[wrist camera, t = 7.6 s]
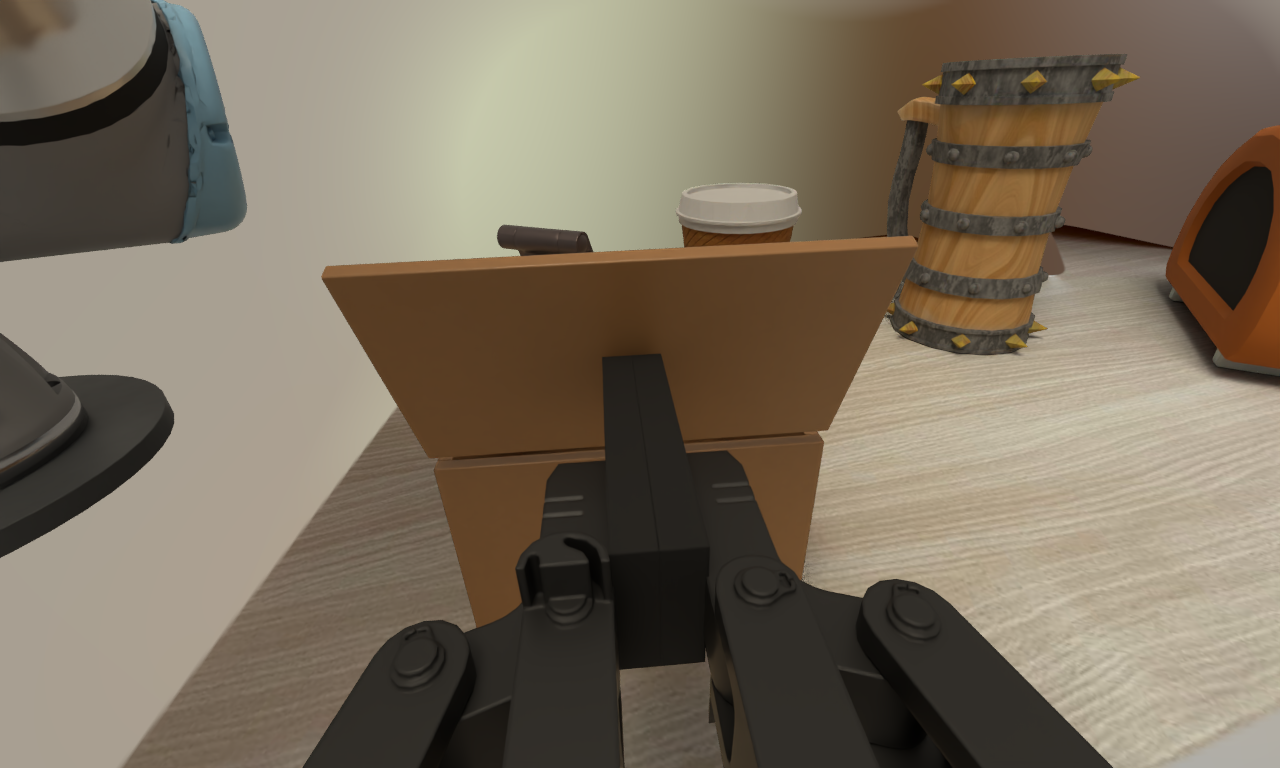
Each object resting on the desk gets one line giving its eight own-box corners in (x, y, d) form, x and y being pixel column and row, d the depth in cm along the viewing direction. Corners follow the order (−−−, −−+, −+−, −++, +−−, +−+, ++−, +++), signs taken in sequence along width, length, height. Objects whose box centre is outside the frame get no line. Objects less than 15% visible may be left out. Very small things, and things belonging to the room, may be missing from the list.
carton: (721, 417, 35) (727, 280, 31) (796, 610, 22) (828, 421, 18) (522, 430, 35) (499, 292, 30) (479, 638, 21) (427, 449, 17)
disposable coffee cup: (716, 372, 41) (723, 209, 35) (656, 329, 48) (653, 190, 42) (811, 344, 44) (832, 193, 39) (742, 309, 52) (750, 178, 46)
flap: (912, 234, 12) (919, 245, 12) (824, 420, 18) (828, 430, 18) (324, 265, 11) (319, 277, 11) (430, 448, 17) (428, 459, 17)
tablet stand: (619, 302, 55) (615, 218, 51) (578, 330, 49) (570, 238, 45) (548, 291, 58) (538, 212, 54) (501, 317, 52) (487, 230, 48)
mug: (959, 373, 39) (1051, 55, 30) (817, 299, 54) (848, 68, 44) (1085, 344, 43) (1204, 51, 33) (920, 282, 57) (970, 65, 47)
